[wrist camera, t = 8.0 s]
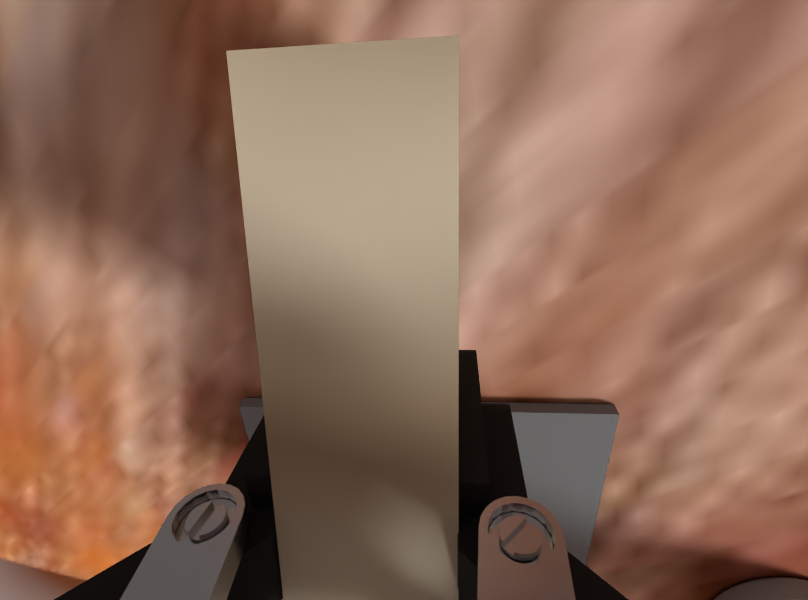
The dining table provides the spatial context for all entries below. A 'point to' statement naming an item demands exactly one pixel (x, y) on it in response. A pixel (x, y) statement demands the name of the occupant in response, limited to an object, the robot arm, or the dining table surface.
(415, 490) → the beige rectangular bar
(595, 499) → the grey square plate
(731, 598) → the travel mug
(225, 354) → the dining table surface
